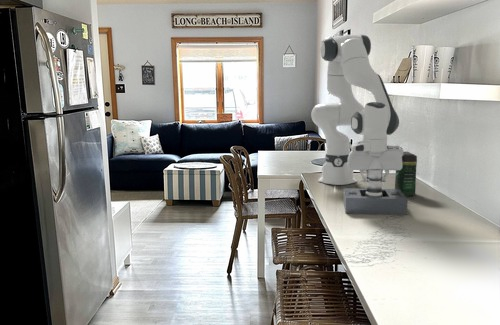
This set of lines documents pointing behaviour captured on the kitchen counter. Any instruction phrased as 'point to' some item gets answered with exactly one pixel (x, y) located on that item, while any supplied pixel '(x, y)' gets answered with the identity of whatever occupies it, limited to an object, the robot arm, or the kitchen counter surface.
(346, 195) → the grey slotted block
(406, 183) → the coffee jar
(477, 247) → the kitchen counter surface
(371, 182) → the silver bottle
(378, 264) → the kitchen counter surface
